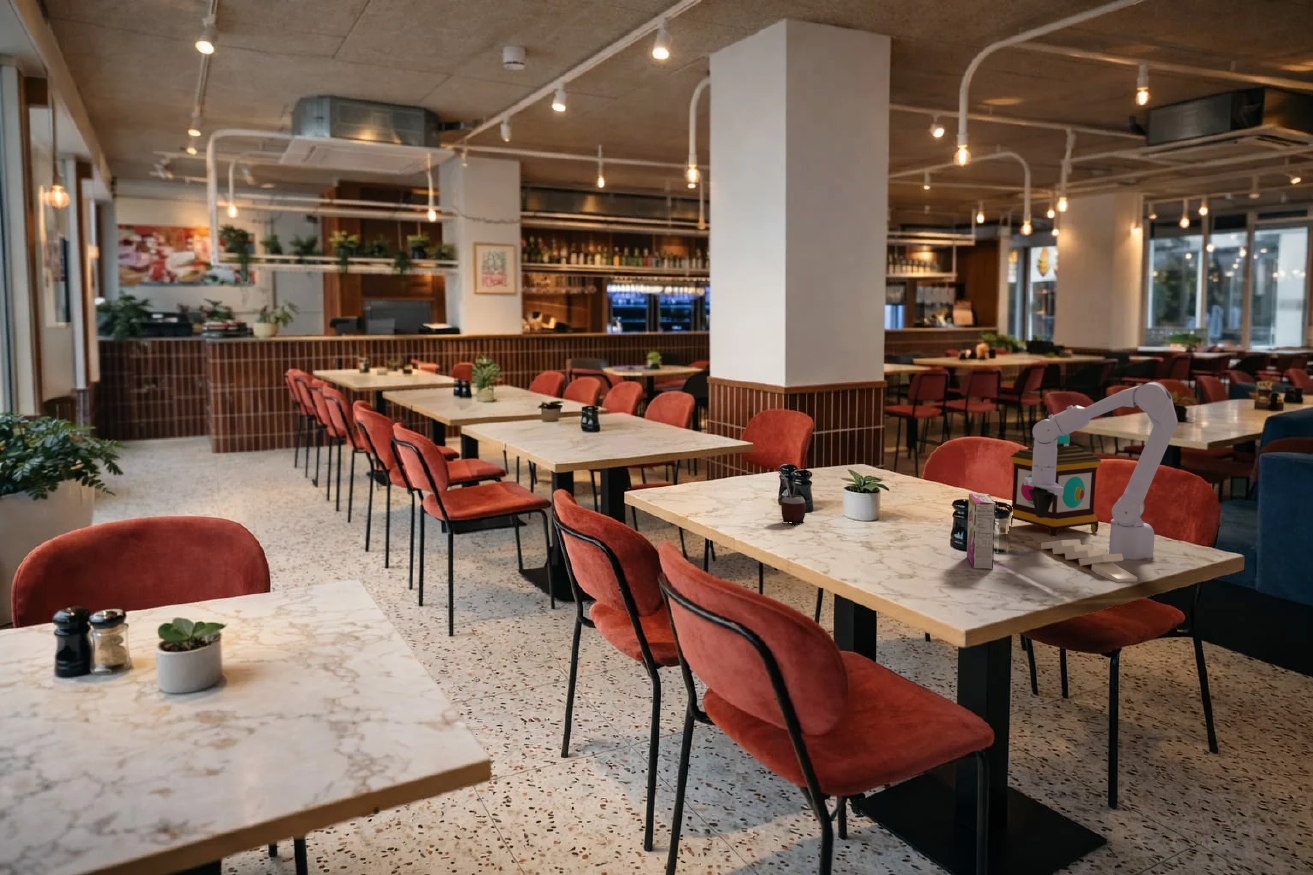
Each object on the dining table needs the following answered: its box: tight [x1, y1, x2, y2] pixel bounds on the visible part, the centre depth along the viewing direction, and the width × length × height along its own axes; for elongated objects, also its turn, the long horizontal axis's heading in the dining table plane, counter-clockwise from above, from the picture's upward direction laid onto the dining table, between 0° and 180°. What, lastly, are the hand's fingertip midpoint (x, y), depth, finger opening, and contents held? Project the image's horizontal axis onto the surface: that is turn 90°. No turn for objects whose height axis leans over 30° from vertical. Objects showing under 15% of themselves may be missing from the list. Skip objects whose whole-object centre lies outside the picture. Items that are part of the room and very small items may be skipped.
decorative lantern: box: [1010, 433, 1102, 538], centre depth 249 cm, size 20×20×30 cm
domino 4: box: [1079, 553, 1124, 566], centre depth 208 cm, size 2×5×9 cm
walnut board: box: [1025, 544, 1097, 575], centre depth 218 cm, size 9×26×1 cm, turn 9°
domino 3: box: [1065, 549, 1108, 560], centre depth 213 cm, size 2×5×9 cm
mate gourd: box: [777, 470, 807, 526], centre depth 259 cm, size 8×8×15 cm
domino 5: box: [1091, 562, 1138, 583], centre depth 203 cm, size 2×5×9 cm
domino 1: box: [1040, 538, 1082, 549], centre depth 223 cm, size 2×5×9 cm
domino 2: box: [1052, 543, 1095, 554], centre depth 218 cm, size 2×5×9 cm
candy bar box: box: [966, 492, 997, 570], centre depth 216 cm, size 11×5×16 cm, turn 168°
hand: (1041, 517), depth 231 cm, fingers closed
